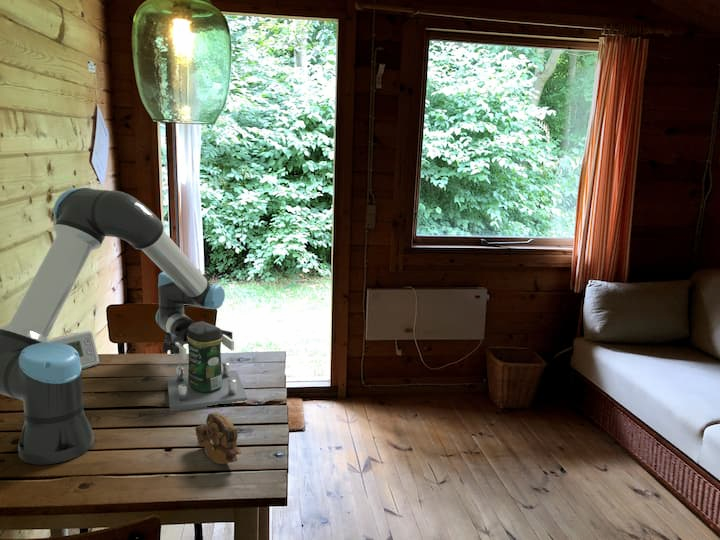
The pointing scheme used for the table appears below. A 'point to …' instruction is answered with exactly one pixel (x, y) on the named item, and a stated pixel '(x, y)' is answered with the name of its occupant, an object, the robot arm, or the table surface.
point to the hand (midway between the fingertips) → (209, 350)
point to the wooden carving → (218, 439)
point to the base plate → (192, 399)
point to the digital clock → (81, 347)
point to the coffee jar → (204, 357)
